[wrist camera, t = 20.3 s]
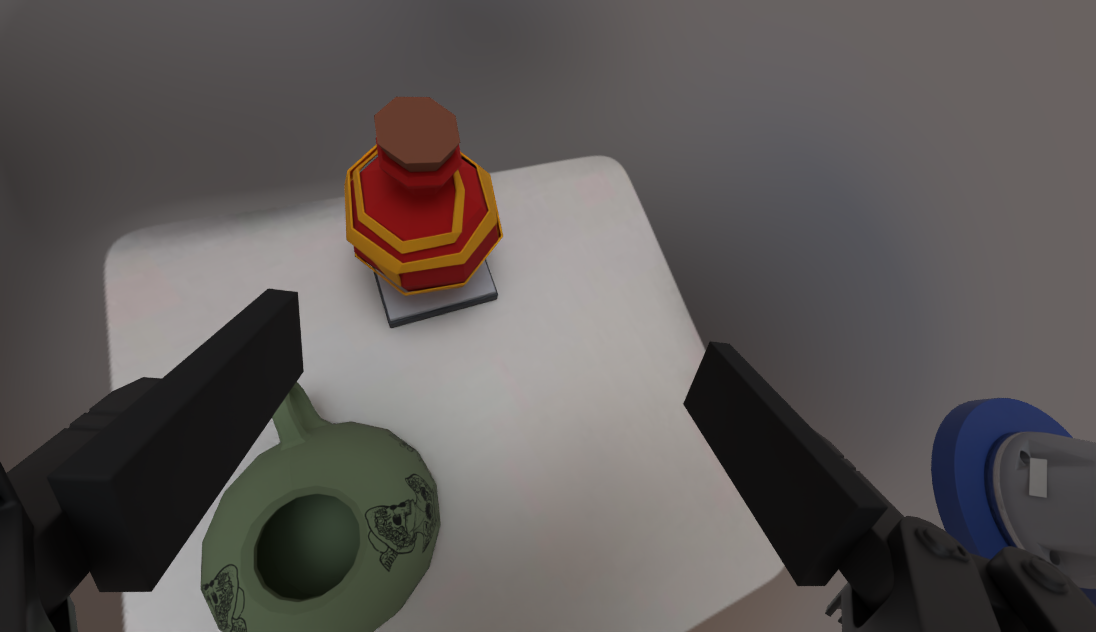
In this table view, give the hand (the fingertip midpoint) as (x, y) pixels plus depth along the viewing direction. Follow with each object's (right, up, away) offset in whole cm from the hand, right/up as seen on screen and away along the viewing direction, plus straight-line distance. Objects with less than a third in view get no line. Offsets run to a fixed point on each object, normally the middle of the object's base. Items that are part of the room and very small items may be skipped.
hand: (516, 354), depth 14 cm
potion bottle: (-9, +6, +21) cm, 23 cm away
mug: (-14, -12, +16) cm, 24 cm away
